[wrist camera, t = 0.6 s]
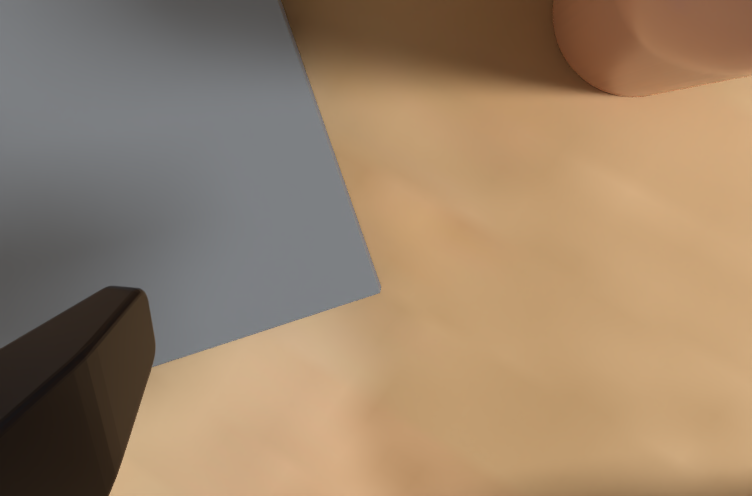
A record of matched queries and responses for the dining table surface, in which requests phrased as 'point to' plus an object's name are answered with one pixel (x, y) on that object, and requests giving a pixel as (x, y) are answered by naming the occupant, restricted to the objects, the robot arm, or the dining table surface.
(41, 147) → the rubber mat
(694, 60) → the wooden peg
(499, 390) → the dining table surface
